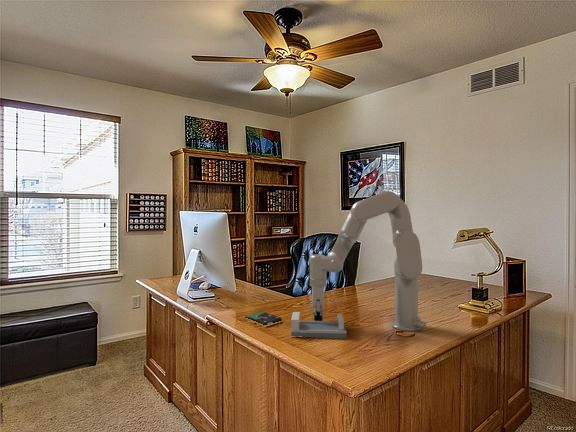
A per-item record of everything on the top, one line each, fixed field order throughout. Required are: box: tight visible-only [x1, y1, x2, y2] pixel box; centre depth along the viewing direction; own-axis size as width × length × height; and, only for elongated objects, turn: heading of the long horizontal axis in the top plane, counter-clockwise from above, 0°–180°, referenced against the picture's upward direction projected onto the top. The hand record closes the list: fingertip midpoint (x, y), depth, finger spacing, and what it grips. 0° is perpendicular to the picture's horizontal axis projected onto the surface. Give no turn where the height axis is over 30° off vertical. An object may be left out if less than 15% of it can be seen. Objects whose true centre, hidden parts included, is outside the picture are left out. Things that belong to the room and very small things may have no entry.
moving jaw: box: [336, 313, 345, 331], centre depth 149 cm, size 2×10×4 cm, turn 176°
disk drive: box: [244, 311, 283, 325], centre depth 166 cm, size 10×3×15 cm
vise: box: [290, 311, 348, 339], centre depth 150 cm, size 22×12×7 cm, turn 86°
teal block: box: [313, 308, 324, 321], centre depth 163 cm, size 4×5×6 cm
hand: (318, 321), depth 163 cm, fingers closed on teal block, 5 cm apart
